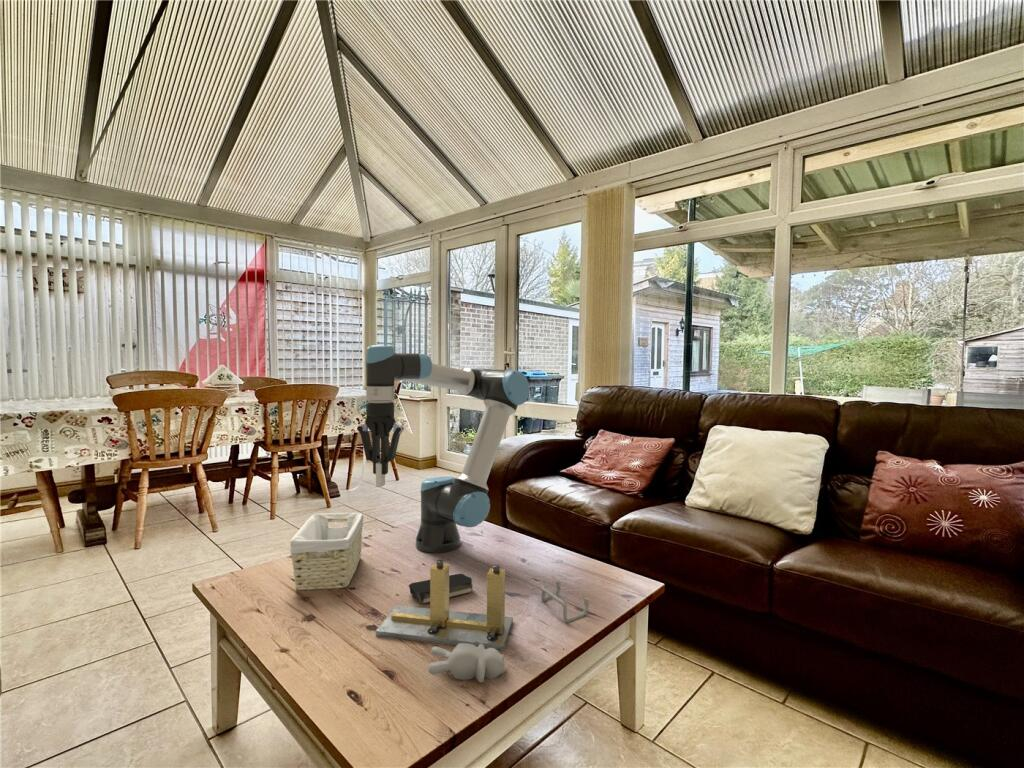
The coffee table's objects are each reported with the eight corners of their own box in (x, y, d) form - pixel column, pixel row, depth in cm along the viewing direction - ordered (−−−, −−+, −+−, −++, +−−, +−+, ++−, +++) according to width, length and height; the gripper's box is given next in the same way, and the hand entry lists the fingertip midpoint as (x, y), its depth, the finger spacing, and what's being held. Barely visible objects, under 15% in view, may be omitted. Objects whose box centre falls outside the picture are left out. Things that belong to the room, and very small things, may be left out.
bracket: (588, 617, 123) (589, 597, 123) (563, 624, 119) (565, 604, 119) (556, 596, 134) (558, 577, 134) (533, 601, 130) (534, 582, 129)
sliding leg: (435, 616, 119) (435, 557, 118) (449, 618, 118) (449, 558, 117) (426, 630, 113) (426, 568, 112) (441, 632, 112) (441, 569, 111)
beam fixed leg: (395, 613, 120) (395, 554, 120) (504, 625, 116) (505, 563, 115) (385, 627, 114) (385, 564, 114) (499, 640, 110) (500, 574, 109)
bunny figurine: (506, 667, 96) (429, 661, 94) (503, 692, 96) (426, 687, 95) (503, 639, 105) (433, 634, 104) (500, 662, 105) (430, 657, 104)
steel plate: (396, 609, 125) (396, 604, 125) (512, 622, 119) (512, 617, 119) (375, 635, 113) (375, 630, 113) (503, 651, 108) (503, 645, 108)
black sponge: (417, 608, 126) (417, 594, 126) (407, 594, 133) (407, 581, 133) (475, 594, 134) (475, 581, 134) (463, 582, 141) (463, 569, 141)
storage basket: (349, 591, 135) (349, 538, 134) (287, 594, 133) (287, 540, 132) (365, 556, 158) (364, 511, 158) (312, 558, 156) (312, 512, 156)
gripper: (351, 402, 133) (352, 487, 134) (397, 403, 131) (397, 490, 132) (364, 399, 140) (365, 481, 142) (407, 400, 138) (407, 483, 139)
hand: (380, 485), depth 137 cm, fingers closed
